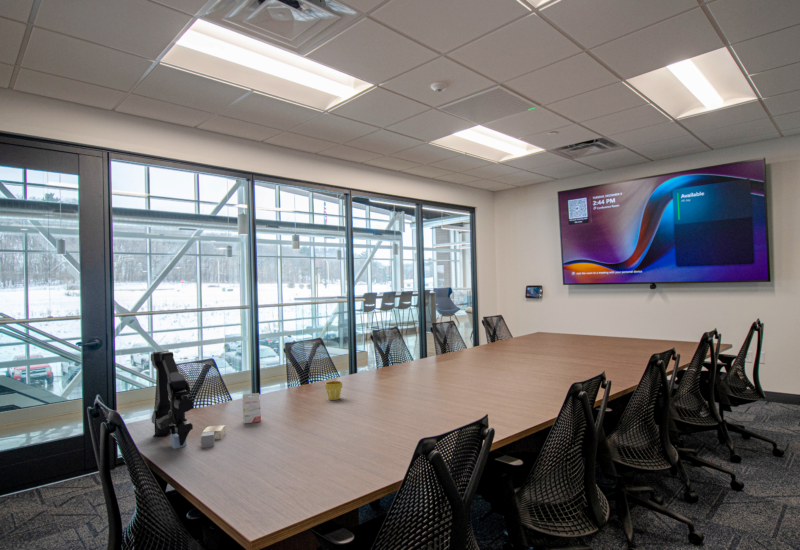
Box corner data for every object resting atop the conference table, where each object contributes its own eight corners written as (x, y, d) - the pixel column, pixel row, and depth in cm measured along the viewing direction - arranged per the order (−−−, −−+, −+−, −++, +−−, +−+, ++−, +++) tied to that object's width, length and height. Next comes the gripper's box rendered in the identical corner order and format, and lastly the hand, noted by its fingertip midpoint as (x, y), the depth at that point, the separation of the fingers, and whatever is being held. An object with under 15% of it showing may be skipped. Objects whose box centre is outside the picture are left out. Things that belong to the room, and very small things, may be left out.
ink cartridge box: (261, 419, 233) (260, 390, 233) (260, 421, 228) (260, 392, 228) (243, 420, 230) (243, 392, 231) (243, 423, 226) (242, 394, 226)
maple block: (202, 440, 203) (202, 432, 203) (207, 435, 211) (207, 426, 211) (221, 439, 204) (220, 430, 204) (225, 433, 212) (225, 425, 212)
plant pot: (323, 397, 272) (323, 381, 273) (339, 395, 277) (339, 379, 277) (328, 401, 263) (327, 385, 263) (344, 399, 267) (344, 383, 268)
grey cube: (201, 447, 193) (201, 436, 193) (202, 444, 198) (202, 432, 198) (213, 446, 195) (213, 434, 195) (214, 442, 199) (214, 431, 200)
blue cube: (174, 449, 193) (174, 437, 193) (170, 446, 196) (170, 434, 196) (186, 445, 196) (186, 434, 196) (182, 443, 200) (182, 431, 200)
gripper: (151, 407, 198) (151, 443, 197) (164, 415, 184) (165, 453, 184) (178, 402, 205) (178, 436, 205) (192, 410, 192) (193, 446, 192)
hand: (178, 443), depth 196 cm, fingers open, 8 cm apart
